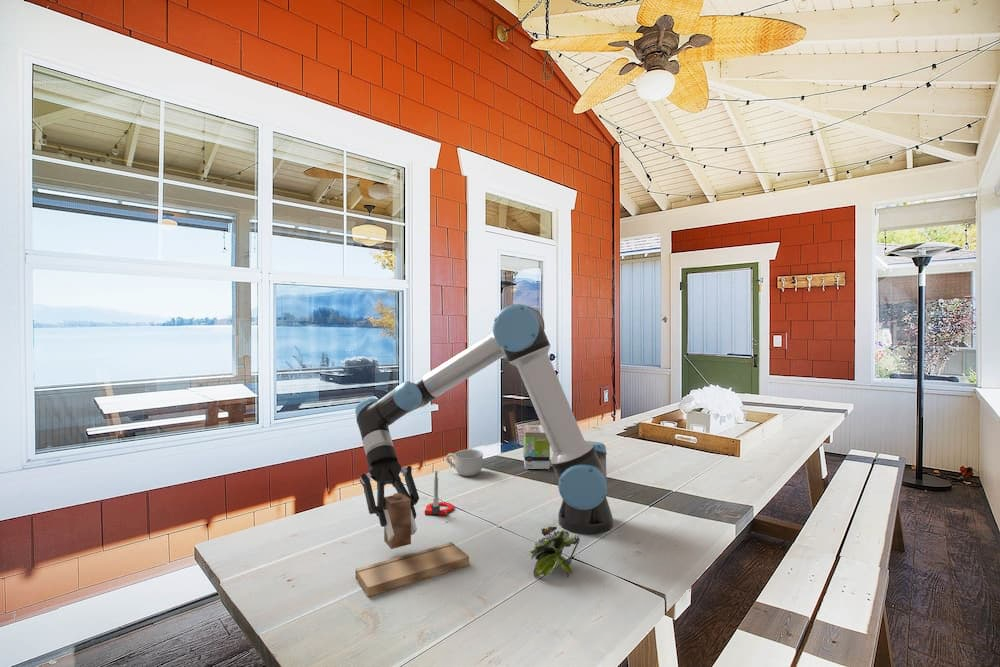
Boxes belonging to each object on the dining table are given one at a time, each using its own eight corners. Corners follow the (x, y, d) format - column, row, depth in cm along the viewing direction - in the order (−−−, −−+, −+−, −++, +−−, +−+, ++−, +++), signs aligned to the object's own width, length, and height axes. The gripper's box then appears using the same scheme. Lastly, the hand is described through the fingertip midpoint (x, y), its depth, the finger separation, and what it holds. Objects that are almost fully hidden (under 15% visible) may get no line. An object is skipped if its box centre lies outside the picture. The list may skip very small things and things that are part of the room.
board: (451, 550, 121) (451, 541, 121) (469, 564, 113) (469, 556, 113) (355, 577, 108) (355, 568, 108) (368, 596, 101) (367, 586, 100)
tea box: (550, 470, 186) (550, 432, 186) (524, 470, 187) (524, 432, 186) (547, 459, 201) (547, 423, 201) (523, 459, 202) (522, 424, 201)
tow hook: (430, 505, 153) (421, 515, 144) (430, 463, 153) (421, 471, 144) (456, 506, 151) (448, 516, 142) (456, 465, 152) (449, 472, 143)
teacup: (487, 471, 186) (487, 450, 186) (476, 479, 176) (476, 457, 175) (454, 467, 190) (453, 447, 190) (442, 476, 180) (441, 454, 180)
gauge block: (403, 536, 122) (403, 489, 122) (410, 544, 118) (410, 495, 118) (384, 541, 120) (383, 493, 119) (391, 549, 116) (390, 499, 115)
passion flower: (549, 585, 114) (564, 534, 120) (582, 597, 106) (596, 541, 111) (514, 568, 110) (532, 516, 115) (546, 579, 101) (563, 522, 107)
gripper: (408, 453, 136) (433, 533, 123) (343, 464, 127) (362, 551, 113) (415, 439, 132) (441, 519, 118) (348, 448, 122) (368, 537, 109)
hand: (402, 534), depth 116 cm, fingers closed on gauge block, 5 cm apart
